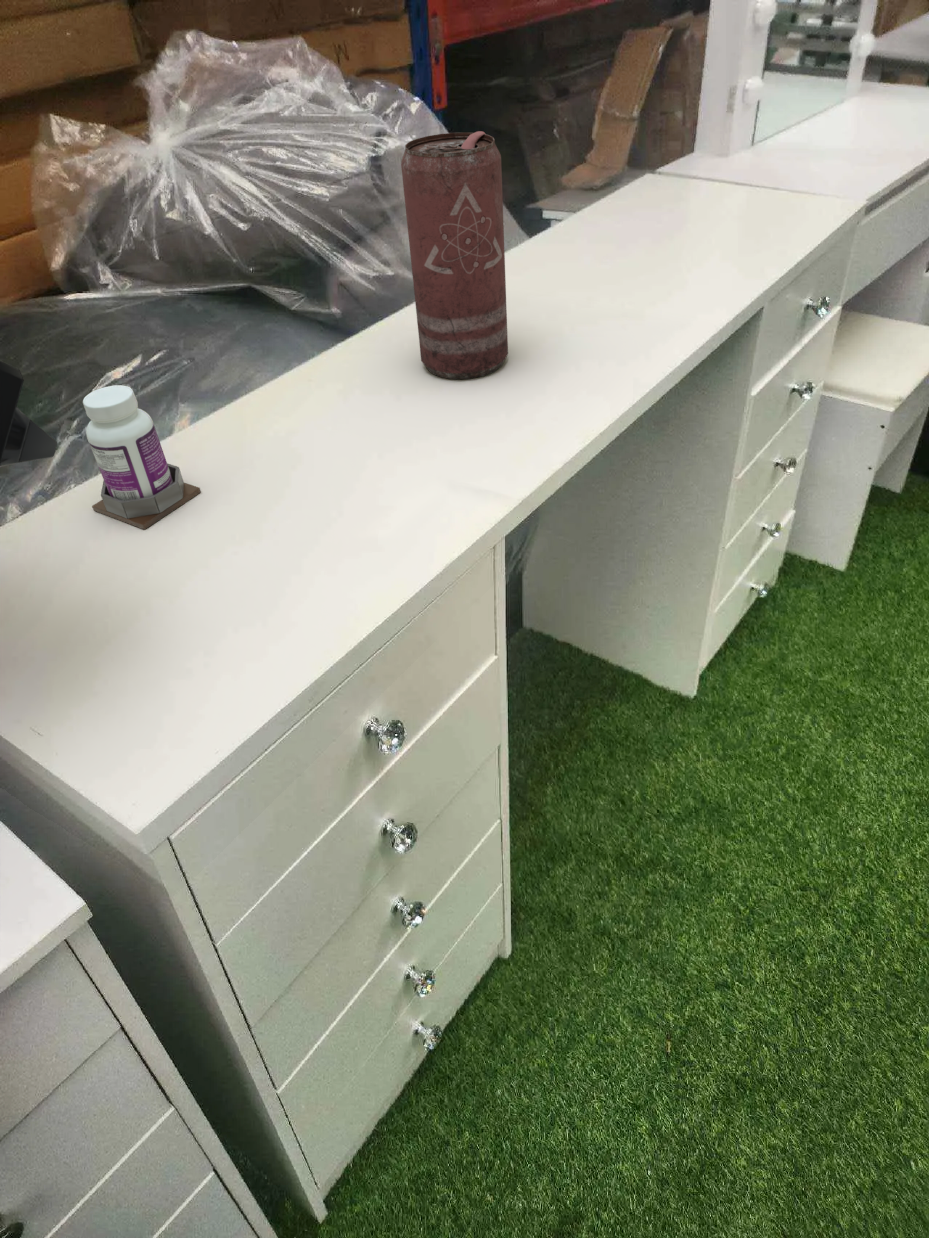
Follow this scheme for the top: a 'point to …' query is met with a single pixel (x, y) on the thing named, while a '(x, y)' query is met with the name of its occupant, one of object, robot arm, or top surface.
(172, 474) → the octagonal bottle holder
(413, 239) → the can
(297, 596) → the top surface
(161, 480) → the pill bottle
